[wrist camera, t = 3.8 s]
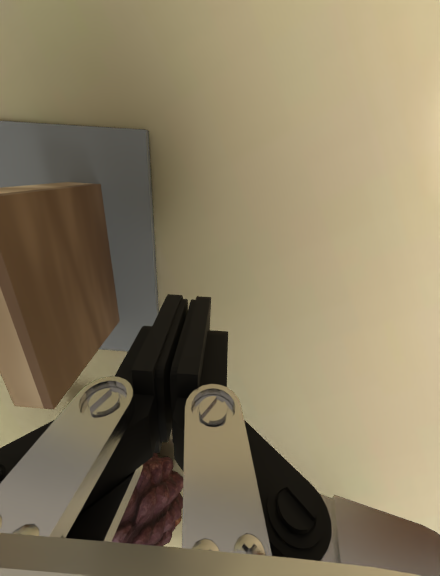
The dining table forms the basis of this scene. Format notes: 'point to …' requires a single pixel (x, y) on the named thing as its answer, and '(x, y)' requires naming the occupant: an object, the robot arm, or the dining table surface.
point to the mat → (116, 199)
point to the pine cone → (152, 505)
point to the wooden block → (52, 288)
